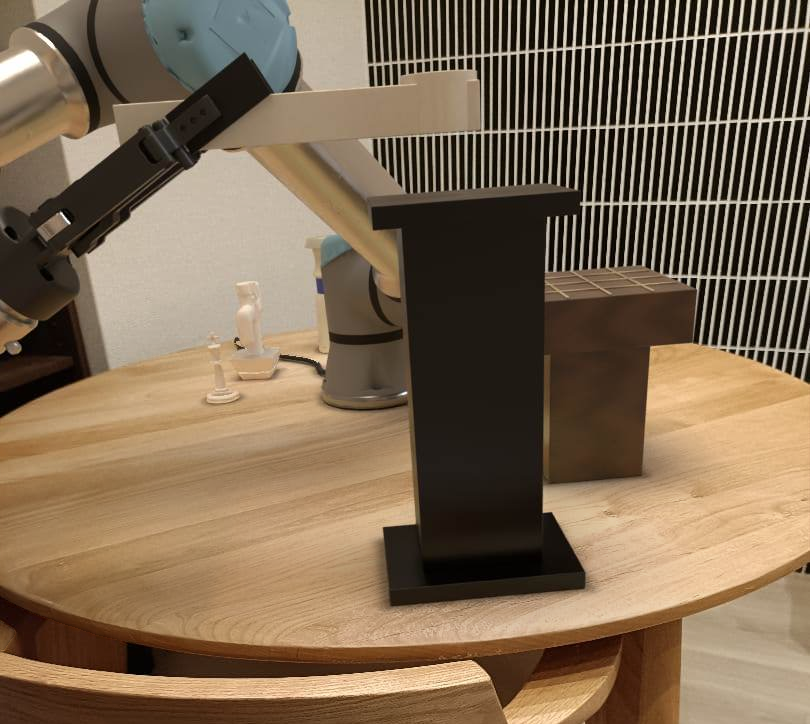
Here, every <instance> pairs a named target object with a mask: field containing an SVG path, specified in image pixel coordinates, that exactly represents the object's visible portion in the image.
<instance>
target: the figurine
mask: <svg viewBox="0 0 810 724" xmlns="http://www.w3.org/2000/svg"><path fill="white" fill-rule="evenodd" d="M235 288H236V292H237V296H238V300H239V301H238V302H239V306H240V307H239V309H238V310H237V312H236V317H235V318H236V325H237V326H236V327H237V332H238V333H237V334H238V338H239V339H240V343H241V344H242V345H245V347H246V348H247V349H239V350H237V352H235V353H234V354H233V355H232V356H231V357H230V358H229V359H228V362H229V363H230V364H231V366H232V367H233V368H234V370H235V372H237V373H238V372H261V371H264V372H265V371H271V370H272V369H273V368H274V366H275V365H276V364H277V365H276V366H275V368H274V369H273V370H272V371H271V372H270V373H259V374H238V375H239V377H240V378H241V379H242V380H245V381H247V380H267V379H270V378H271V377H272V376H273V375H274V374H275V372H276V369H277V366H278V363H279V359H280V358H279V356H280V354H282V349H283V346H276V347H264V342H263V335H262V329H261V322H260V320H261V319H260V316H261V315H262V313H263V309H264V308H263V298H262V292H261V286H260V283H259V281H255V280H251V281H242V282H237V283H235Z"/></svg>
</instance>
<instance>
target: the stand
mask: <svg viewBox="0 0 810 724" xmlns="http://www.w3.org/2000/svg"><path fill="white" fill-rule="evenodd" d="M581 193H582V191H581V190H580V189H575V188H571V187H567V186H561V185H557V184H552V183H548V182H544V183H542V182H541V183H530V184H519V185H517V184H516V185H506V186H503V185H502V186H492V187H491V186H490V187H479V188H467V189H466V188H465V189H451V190H440V191H439V190H438V191H426V192H412V193H407V194H398V195H385V196H372V197H367V205H368V217H369V220H370V223H371V226H372V229H373V231H375V230H388V229H396V235H397V250H398V265H399V280H400V295H401V310H402V324H403V339H404V354H405V369H406V384H407V399H408V403H407V411H408V412H407V413H408V425H409V426H408V429H409V442H410V456H411V457H410V458H411V470H412V472H411V474H412V487H413V501H414V502H413V503H414V517H415V523H413V524H411V523H410V524H401V525H390V526H389V525H388V526H382V535H383V536H382V539H383V547H384V557H385V567H386V577H387V587H388V596H389V597H388V598H389V605H390V606H392V607H393V606H402V605H414V604H424V603H425V604H427V603H437V602H446V601H456V600H457V601H458V600H468V599H469V600H470V599H479V598H490V597H500V596H502V597H503V596H511V595H522V594H533V593H543V592H544V593H545V592H554V591H564V590H565V591H566V590H575V589H585V588H586V575H587V574H586V570H585V568H584V567H583V565H582V564H581V561H580V560H579V557H578V556H577V554H576V552H575V551H574V549H573V547H572V545H571V543H570V541H569V540H568V538H567V537H566V534H565V533H564V531H563V529H562V527H561V526H560V524H559V522H558V520H557V518H556V517H555V515H554V513H553V512H552V511H547V512H546V511H545V512H544V474H543V442H544V336H545V273H546V227H547V226H546V223H547V221H546V220H547V218H554V217H567V216H579V215H581V197H582V196H581V195H582V194H581Z"/></svg>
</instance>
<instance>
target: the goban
mask: <svg viewBox="0 0 810 724" xmlns="http://www.w3.org/2000/svg"><path fill="white" fill-rule="evenodd" d="M697 299H698V289H697V288H695V287H693V286H692V285H691V286H690V285H688V284H687V283H684V282H682V281H679V280H676V279H674V278H673V277H672V278H671V277H670V276H667V275H665V274H663V273H660V272H658V271H655V270H653V269H650V268H648V267H646V266H644V265H640V264H639V265H628V266H613V267H602V268H590V269H589V268H587V269H576V270H572V269H571V270H564V271H563V270H562V271H552V272H545V336H544V442H543V477H544V478H545V480H546V481H547V483H548V484H559V483H560V484H562V483H571V482H583V481H594V480H605V479H618V478H628V477H639V476H640V477H641V476H643V465H644V464H643V463H644V462H643V461H644V448H645V447H644V446H645V436H646V435H645V434H646V419H647V417H646V416H647V402H648V390H649V389H648V388H649V373H650V360H651V359H650V358H651V347H660V346H661V347H662V346H675V345H684V344H693V342H694V333H695V320H696V309H697Z"/></svg>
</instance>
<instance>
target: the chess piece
mask: <svg viewBox="0 0 810 724" xmlns="http://www.w3.org/2000/svg"><path fill="white" fill-rule="evenodd" d="M209 333H210V336H206V341H207V342H208V341H211V344H208V345H207V350H208V351H209V353H210V356H211V358H212V359H211V360H210V362H209V364H210V365H211V366H214V380H215V382H214V383H215V387H214V388H213V391H215V392H219V393H223V392H227V391H229V389H230V386H229V385H227V381H226V379H225V376H224V375H225V374H224V371H223V368H222V365H223V364H225V360H224V359H222V358H221V353H222V344H220V343H217V342H216V341H218V340H220V335H215V332H214V331H211V332H209ZM231 389H232V390H234V391H235V392H234V393H232V394H229V395H224V396H212V395H210V393H211V392H209V393H208V394H207V395H206V402H207V403H210V404H214V405H215V404H217V405H218V404H226V403H227V404H228V403H231V402H232V403H233V402H235V401H238V399H240V395H239V391H238V390H236V389H233V388H231Z"/></svg>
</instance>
